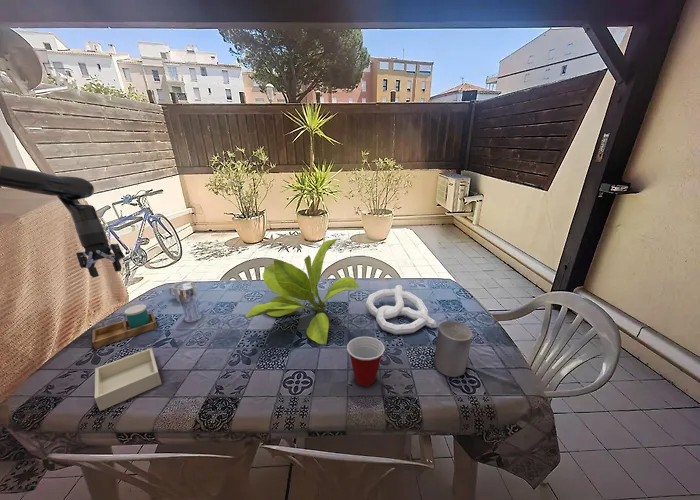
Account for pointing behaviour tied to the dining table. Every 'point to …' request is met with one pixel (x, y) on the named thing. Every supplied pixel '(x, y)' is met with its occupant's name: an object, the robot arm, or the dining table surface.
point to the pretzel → (399, 311)
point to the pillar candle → (452, 348)
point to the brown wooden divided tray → (119, 332)
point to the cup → (176, 289)
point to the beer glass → (189, 301)
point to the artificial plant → (301, 291)
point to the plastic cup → (365, 358)
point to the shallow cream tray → (125, 378)
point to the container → (137, 316)
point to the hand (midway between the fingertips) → (107, 274)
